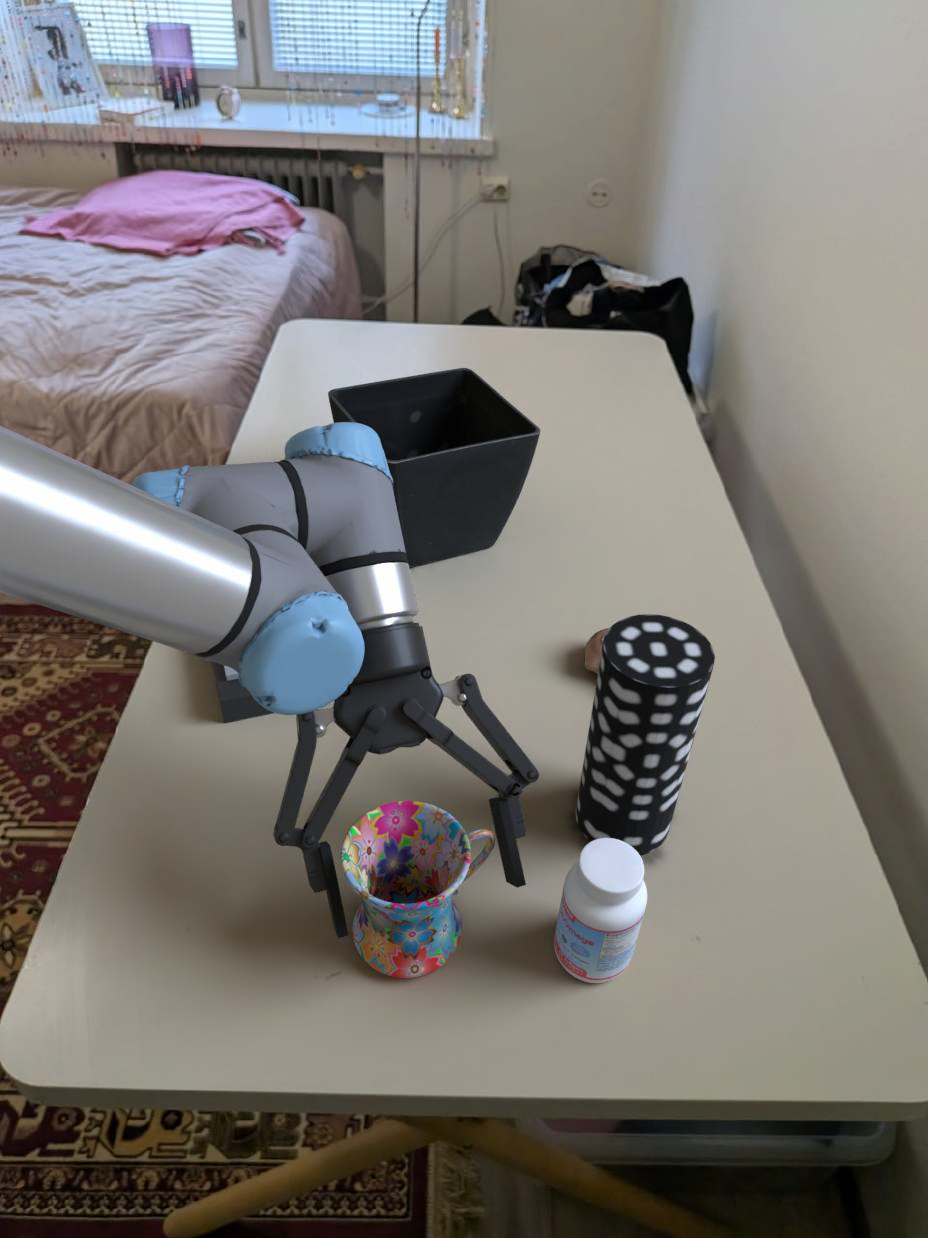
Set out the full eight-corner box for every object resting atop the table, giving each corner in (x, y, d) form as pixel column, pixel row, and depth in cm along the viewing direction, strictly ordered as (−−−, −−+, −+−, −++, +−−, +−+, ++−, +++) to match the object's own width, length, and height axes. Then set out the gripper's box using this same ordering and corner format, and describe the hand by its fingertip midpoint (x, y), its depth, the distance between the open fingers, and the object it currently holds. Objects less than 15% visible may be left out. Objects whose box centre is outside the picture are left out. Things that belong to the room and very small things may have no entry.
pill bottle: (540, 930, 73) (553, 842, 66) (608, 906, 75) (627, 818, 68) (575, 998, 69) (593, 912, 62) (646, 971, 71) (671, 884, 64)
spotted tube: (677, 857, 79) (726, 688, 66) (581, 856, 79) (611, 687, 66) (660, 782, 86) (701, 614, 73) (570, 781, 85) (596, 613, 73)
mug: (376, 1009, 68) (371, 928, 61) (330, 910, 74) (321, 827, 67) (517, 943, 72) (527, 861, 66) (463, 855, 79) (467, 771, 72)
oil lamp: (572, 698, 95) (649, 717, 93) (575, 673, 92) (655, 692, 90) (590, 636, 101) (663, 653, 99) (593, 611, 98) (669, 627, 96)
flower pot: (464, 479, 126) (468, 362, 115) (533, 553, 113) (545, 429, 102) (333, 510, 119) (324, 389, 109) (390, 592, 106) (386, 464, 96)
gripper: (510, 605, 77) (566, 857, 76) (205, 665, 70) (260, 943, 69) (540, 592, 70) (602, 871, 69) (203, 658, 63) (265, 968, 62)
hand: (431, 908), depth 69 cm, fingers open, 13 cm apart
